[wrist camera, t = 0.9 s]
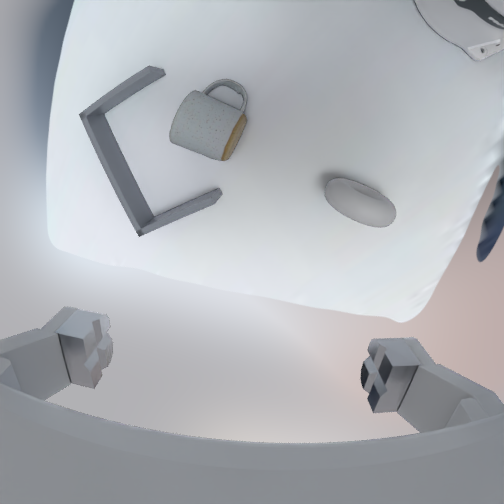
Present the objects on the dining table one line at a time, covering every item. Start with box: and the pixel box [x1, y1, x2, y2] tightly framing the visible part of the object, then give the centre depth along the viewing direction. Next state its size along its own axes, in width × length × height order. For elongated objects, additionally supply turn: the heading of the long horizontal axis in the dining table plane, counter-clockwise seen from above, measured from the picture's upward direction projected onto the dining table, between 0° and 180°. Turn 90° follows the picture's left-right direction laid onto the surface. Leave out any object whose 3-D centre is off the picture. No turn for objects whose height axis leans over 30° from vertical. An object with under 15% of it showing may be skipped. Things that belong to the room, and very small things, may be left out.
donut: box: [325, 178, 396, 227], centre depth 39 cm, size 10×4×10 cm, turn 73°
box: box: [79, 66, 222, 237], centre depth 42 cm, size 13×21×5 cm, turn 24°
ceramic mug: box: [169, 79, 247, 161], centre depth 38 cm, size 11×8×8 cm
